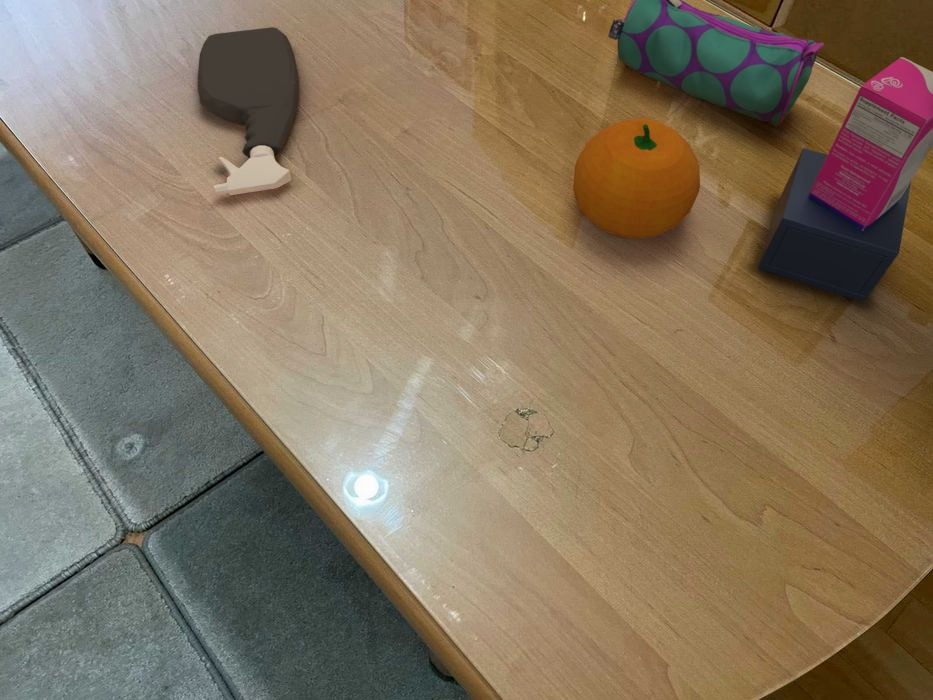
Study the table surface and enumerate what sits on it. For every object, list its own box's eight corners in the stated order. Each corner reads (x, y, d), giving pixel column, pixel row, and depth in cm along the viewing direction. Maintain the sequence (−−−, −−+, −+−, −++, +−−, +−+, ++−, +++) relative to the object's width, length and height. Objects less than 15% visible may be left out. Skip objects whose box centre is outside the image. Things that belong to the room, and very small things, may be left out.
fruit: (574, 254, 70) (590, 173, 62) (563, 168, 77) (575, 85, 69) (699, 253, 70) (731, 172, 62) (676, 167, 77) (702, 84, 69)
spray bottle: (295, 46, 88) (315, 192, 75) (200, 56, 87) (204, 207, 74) (290, 23, 86) (310, 169, 73) (193, 33, 85) (195, 185, 71)
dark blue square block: (777, 201, 74) (799, 156, 70) (877, 231, 72) (907, 186, 67) (757, 268, 69) (779, 224, 65) (863, 302, 67) (894, 259, 62)
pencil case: (600, 74, 86) (614, -6, 78) (637, 38, 90) (654, -42, 82) (771, 147, 79) (806, 67, 71) (803, 104, 83) (839, 23, 75)
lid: (800, 154, 70) (803, 147, 69) (907, 184, 68) (912, 177, 67) (779, 224, 65) (782, 217, 64) (894, 259, 62) (899, 252, 62)
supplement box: (841, 166, 68) (903, 53, 58) (899, 202, 65) (974, 89, 56) (803, 195, 66) (861, 82, 56) (862, 233, 63) (933, 122, 54)
